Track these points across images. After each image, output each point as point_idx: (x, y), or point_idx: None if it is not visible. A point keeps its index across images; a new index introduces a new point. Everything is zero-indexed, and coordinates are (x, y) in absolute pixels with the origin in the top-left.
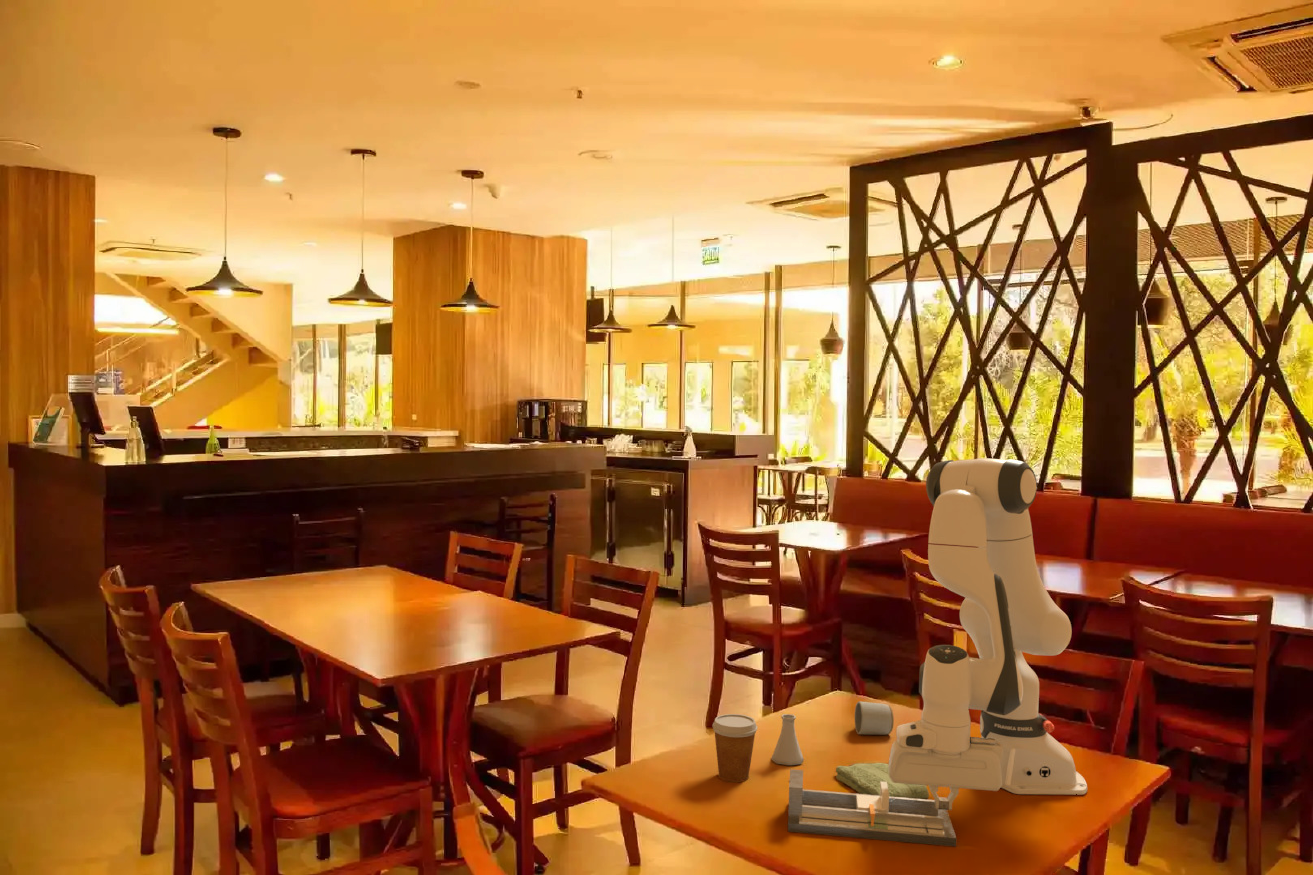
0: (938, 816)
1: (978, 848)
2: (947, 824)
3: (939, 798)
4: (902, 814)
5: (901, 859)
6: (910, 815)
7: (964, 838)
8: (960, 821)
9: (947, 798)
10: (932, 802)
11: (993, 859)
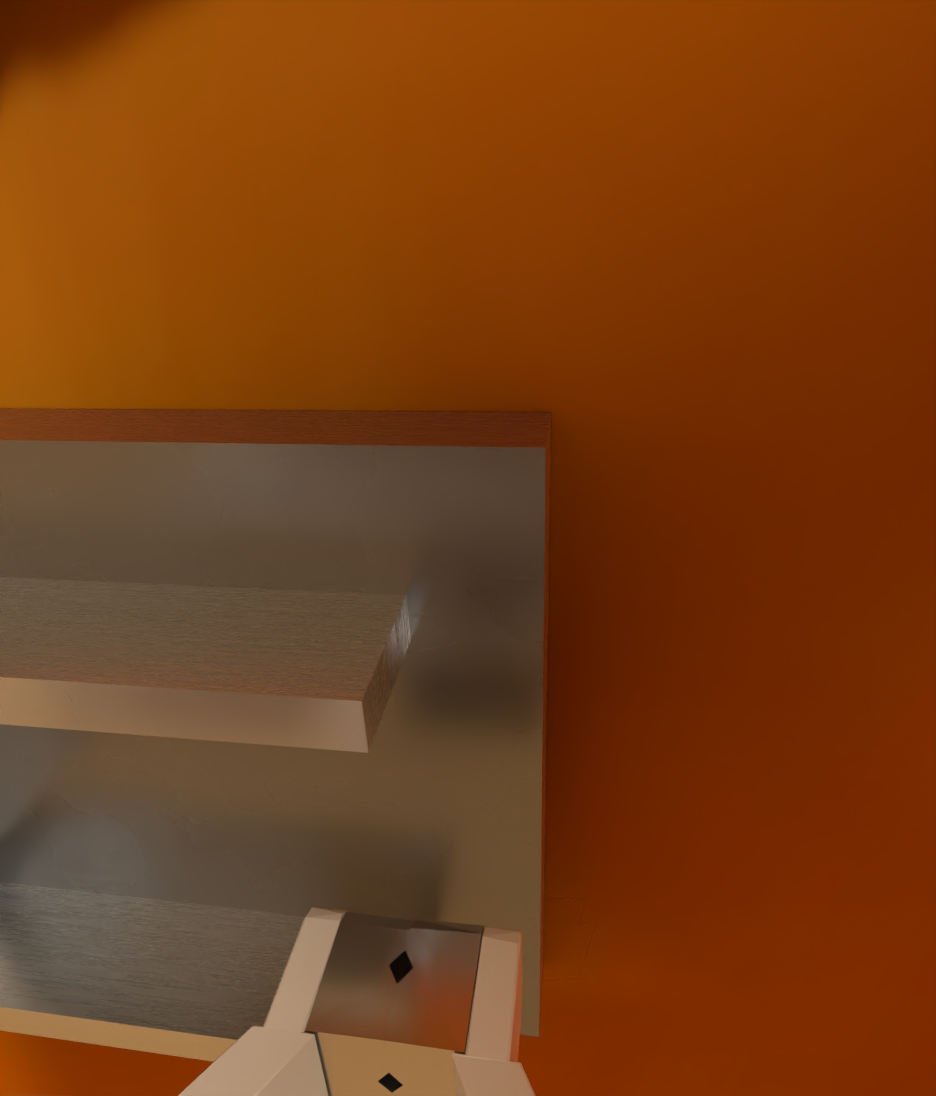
0: (415, 684)
1: (719, 984)
2: (495, 841)
3: (333, 1066)
4: (23, 1020)
5: (191, 1076)
6: (96, 1037)
7: (644, 859)
8: (707, 522)
9: (454, 1066)
10: (291, 739)
11: (781, 1092)
